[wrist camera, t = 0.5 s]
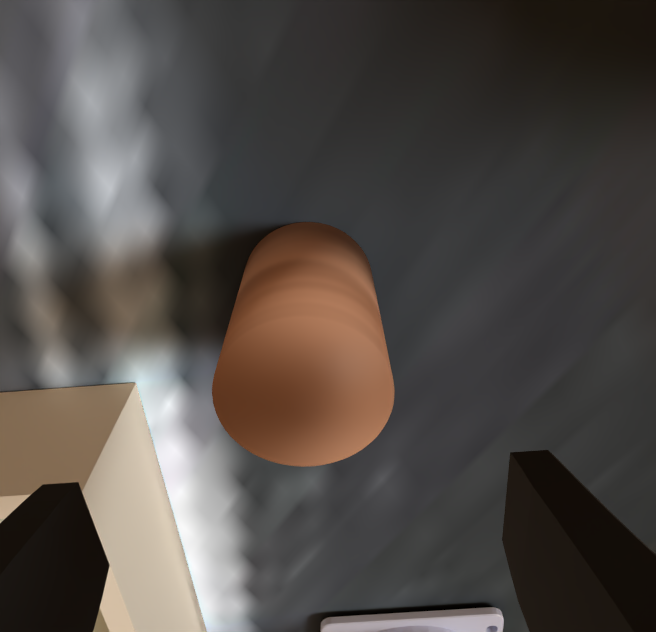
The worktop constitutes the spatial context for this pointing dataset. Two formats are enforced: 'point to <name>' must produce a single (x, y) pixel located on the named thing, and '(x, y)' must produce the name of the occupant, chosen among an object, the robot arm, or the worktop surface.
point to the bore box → (104, 496)
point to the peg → (304, 351)
